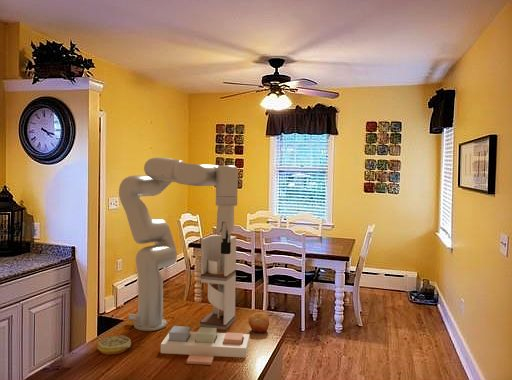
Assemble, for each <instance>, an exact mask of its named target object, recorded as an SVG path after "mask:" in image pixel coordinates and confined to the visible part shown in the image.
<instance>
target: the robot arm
mask: <svg viewBox="0 0 512 380" xmlns="http://www.w3.org/2000/svg"><path fill="white" fill-rule="evenodd" d="M143 171H144V173H145V175H144V174H142V175H141V174H140V175H139V174H136V175H135V174H134V175H129V176H127V177H125V178H124V179H122V180H121V182H120V184H119V188H118V197H119V201H120V203H121V205H122V209H123V210H124V212H125V215H126V218H127V221H128V225H129V228H130V233H131V235H132V238H133V240H134V242H135V243H137V244H139V245H147V244H152V243H154V244H153V245H148V246H145V247H143V248H140V249H138V251H137V253H136V254H135V266H136V269H137V289H138V291H137V292H138V293H137V297H138V298H137V299H138V300H137V305H138V307H137V310H138V311H137V313H128V315H127V318H128V321H135V322H133V327H134V328H135V329H136V330H138V331H141V332H152V331H153V332H154V331H158V330H162V329H164V328H165V327H166V326H167V324H168V323H167V320H166V319H165V318H163V317H164V315H163V314H164V280H163V279H164V278H163V276H162V274H161V272H160V269H164V268H167V267H170V266H172V265H174V264H175V263H176V262H177V259H178V251H177V247H176V244H175V241H174V238H173V235H172V234H173V233H172V232H171V229H170V225H169V224H168V223H167V221H166V220H164V219H162V218H157V217H156V218H155V217H154V218H151V216H150V212H149V209H148V207H147V205H146V204H145V202H144V201H143V200H142V199H140V198H141V197H154V196H155V197H156V196H157V195H160V194H161V193H162V192H163V191H165V190H166V188H167V187H169V186H170V185H171V183H177V184H179V185H186V186H190V187H191V186H194V187H210V186H211V187H213V186H215V206H217V211H216V228H215V229H216V230H215V231H216V233H215V234H216V235H221V254H230V253H231V242H230V240H231V236H232V235H231V234H232V233H233V232H234V227H235V225H234V224H235V207H236V206H238V192H239V190H238V186H239V185H238V184H239V182H238V181H239V180H238V179H239V169H238V167H237V166H235V165H218V164H207V163H206V164H204V163H203V164H202V163H201V164H199V163H198V164H197V163H189V162H187V163H185V162H184V161H183V160H181V159H174V158H171V157H152V158H149V159H148V160H146V162H145V163H144V166H143Z"/></svg>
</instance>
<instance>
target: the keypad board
mask: <svg viewBox="0 0 512 380" xmlns="http://www.w3.org/2000/svg"><path fill="white" fill-rule="evenodd" d="M197 332H198V331H191V330H190V337H189V338H188V340H187V342H178V341H169V332H168V333H167V334H166V336H165V337H164V339H163V340H162V342H161V343H160V354H170V355H171V354H172V355H174V354H175V355H188V356H190V354H193V355H212V356H214V357H225V358H226V357H229V358H245V359H246V358H247V355H248V351H249V347H250V337H251V336H250V333H243V344H242V345H236V344H224V337H225V335H226V332H217V337H216V339H215V341H214V343H197V342H196V333H197Z"/></svg>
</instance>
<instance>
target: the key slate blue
mask: <svg viewBox="0 0 512 380" xmlns="http://www.w3.org/2000/svg"><path fill="white" fill-rule="evenodd" d="M190 331H191V326H187V325H186V326H185V325H184V326H183V325H182V326H181V325H179V326H178V325H173V326H172V328H171V329H170V330H169V331H168V333H169V341H178V342H187V340H188V338H189V337H190Z"/></svg>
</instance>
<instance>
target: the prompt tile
mask: <svg viewBox="0 0 512 380" xmlns="http://www.w3.org/2000/svg"><path fill="white" fill-rule="evenodd" d="M214 359H215V356H212V355H193V354H190V355H188V358H187V359H186V364H187V365H190V364H191V365H208V366H209V365H210V366H211V365H212V363H213V362H214Z"/></svg>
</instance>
